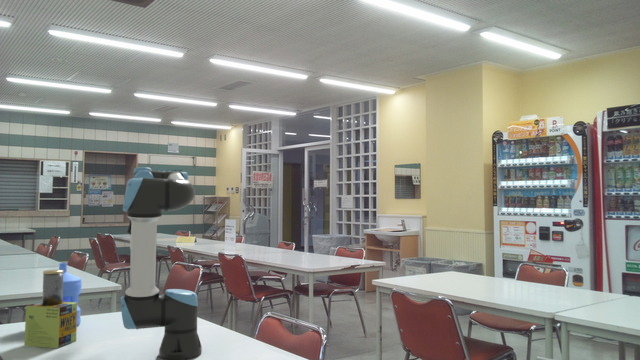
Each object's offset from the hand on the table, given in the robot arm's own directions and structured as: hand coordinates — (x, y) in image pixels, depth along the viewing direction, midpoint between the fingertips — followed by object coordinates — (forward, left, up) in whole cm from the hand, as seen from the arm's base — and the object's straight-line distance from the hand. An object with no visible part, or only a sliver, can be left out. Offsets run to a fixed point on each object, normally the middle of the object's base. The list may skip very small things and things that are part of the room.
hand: (141, 250), depth 218 cm
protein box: (+6, +34, -35) cm, 49 cm away
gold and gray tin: (+6, +34, -19) cm, 40 cm away
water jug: (+32, +20, -35) cm, 51 cm away
